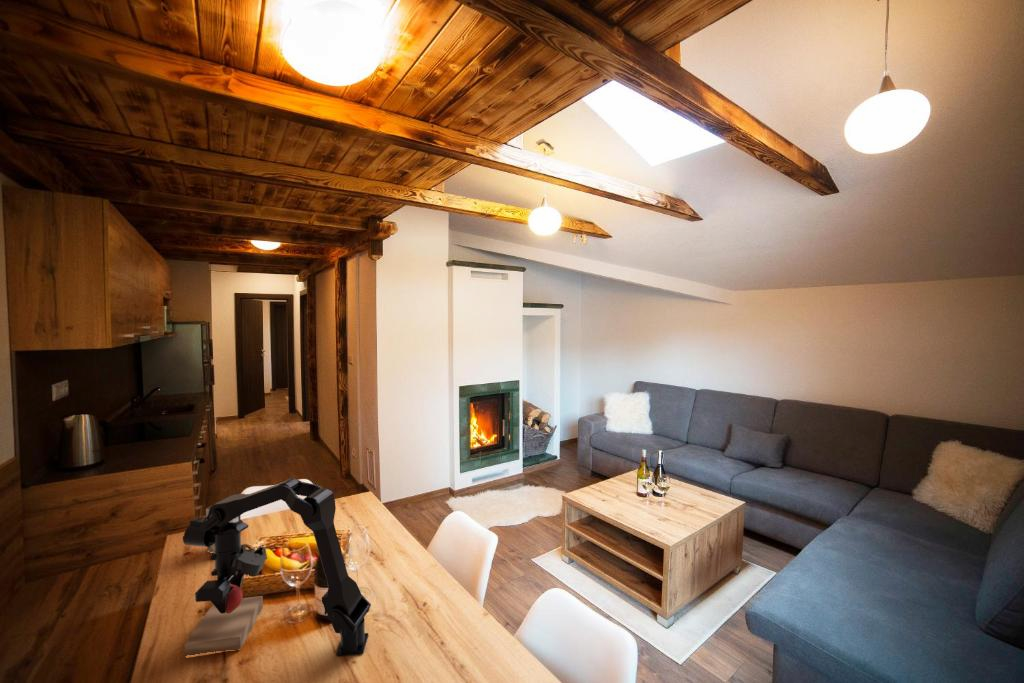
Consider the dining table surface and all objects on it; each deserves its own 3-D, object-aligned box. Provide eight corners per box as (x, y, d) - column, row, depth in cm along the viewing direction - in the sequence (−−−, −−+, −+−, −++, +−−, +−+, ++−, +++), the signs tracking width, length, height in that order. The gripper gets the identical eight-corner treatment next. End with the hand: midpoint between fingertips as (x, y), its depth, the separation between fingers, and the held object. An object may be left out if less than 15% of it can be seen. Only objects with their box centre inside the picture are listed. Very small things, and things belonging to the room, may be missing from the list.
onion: (238, 602, 115) (237, 573, 114) (246, 611, 111) (245, 581, 111) (213, 613, 110) (212, 583, 110) (220, 623, 106) (219, 592, 106)
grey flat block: (240, 652, 105) (240, 636, 105) (184, 660, 102) (184, 644, 102) (262, 609, 120) (262, 595, 120) (215, 615, 118) (214, 601, 117)
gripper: (243, 565, 101) (244, 627, 102) (276, 527, 120) (277, 581, 121) (192, 568, 100) (194, 632, 101) (234, 529, 118) (235, 583, 119)
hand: (229, 605), depth 110 cm, fingers closed on onion, 6 cm apart
